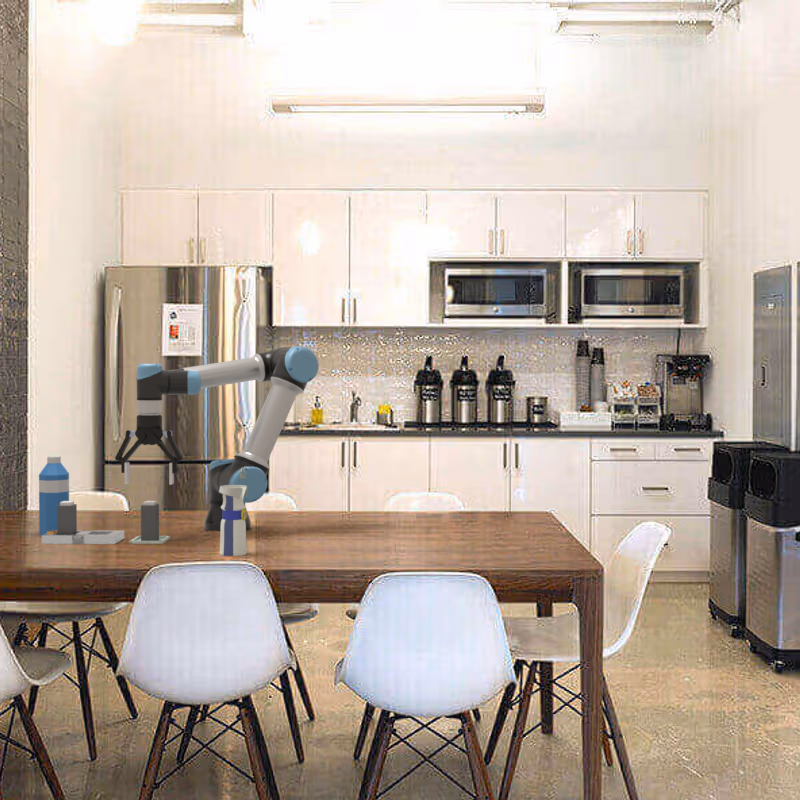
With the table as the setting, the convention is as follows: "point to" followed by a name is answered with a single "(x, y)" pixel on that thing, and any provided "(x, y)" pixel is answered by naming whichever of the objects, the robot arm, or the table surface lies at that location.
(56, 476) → the water bottle
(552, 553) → the table surface
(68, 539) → the pdu strip
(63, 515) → the twin plug
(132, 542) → the tray
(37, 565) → the table surface
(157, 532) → the plug
